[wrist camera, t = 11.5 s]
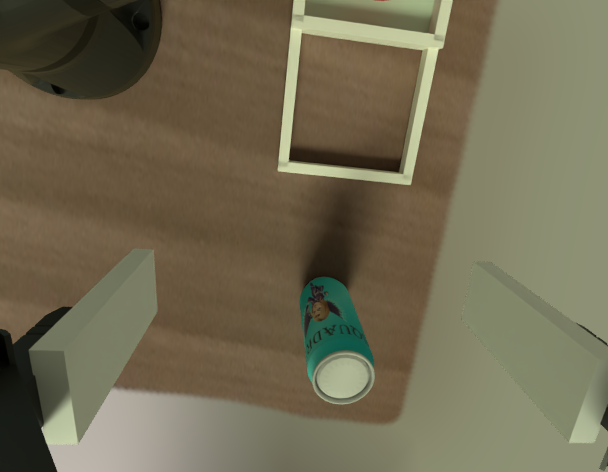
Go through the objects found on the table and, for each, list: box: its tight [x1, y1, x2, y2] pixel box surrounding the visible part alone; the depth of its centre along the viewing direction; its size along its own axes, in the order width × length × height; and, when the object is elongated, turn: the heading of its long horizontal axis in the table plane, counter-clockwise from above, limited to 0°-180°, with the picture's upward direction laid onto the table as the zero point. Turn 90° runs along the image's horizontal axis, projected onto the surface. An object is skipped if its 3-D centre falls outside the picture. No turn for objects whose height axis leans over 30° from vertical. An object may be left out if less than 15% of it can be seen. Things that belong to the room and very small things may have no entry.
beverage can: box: [300, 277, 375, 404], centre depth 38 cm, size 6×6×15 cm
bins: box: [278, 0, 453, 185], centre depth 35 cm, size 27×14×2 cm, turn 173°
